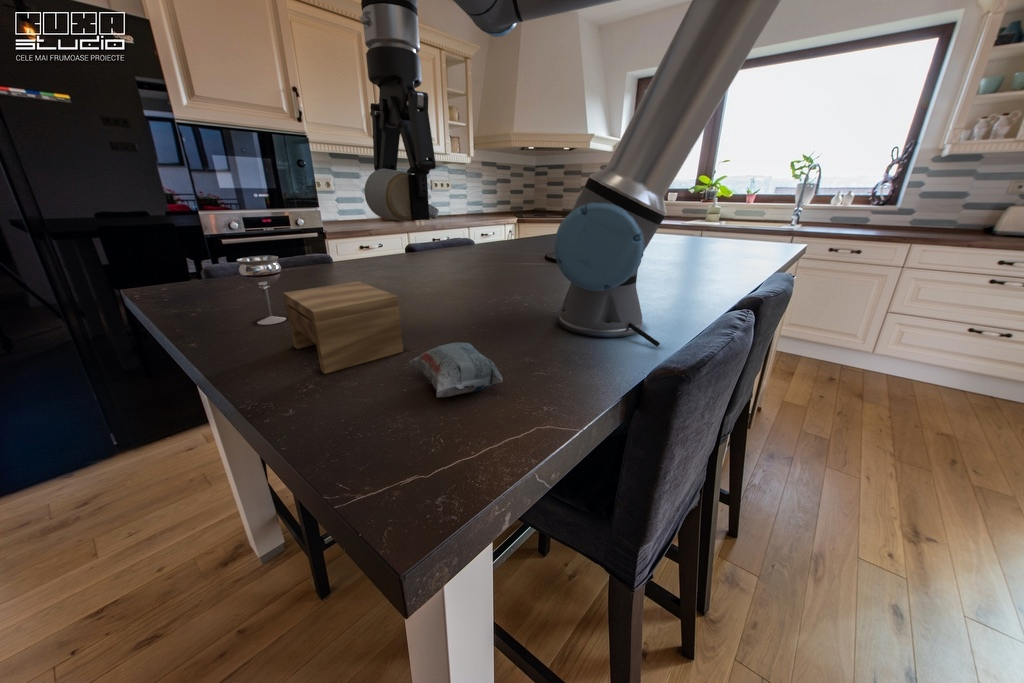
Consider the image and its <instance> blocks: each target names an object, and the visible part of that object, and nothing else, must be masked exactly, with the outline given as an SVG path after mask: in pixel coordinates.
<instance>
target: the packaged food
mask: <svg viewBox="0 0 1024 683" xmlns="http://www.w3.org/2000/svg"><path fill="white" fill-rule="evenodd" d="M408 364H409V365H411V366H412V367H413V368H415V369H417V370H418V372H419V373H420V374H422V375H423V376H424V377H425V378H427V379H428V381H429V382H430V383H431V384H432V386H433V388H434V390H435V392H436V398H450V397H454V396H459V395H464V394H470V393H473V392H478V391H482V390H483V391H484V390H488V389H491V388H494V387H495V386H496V385H498V384H501V383H503V382H504V378H503V377H502V375H501V373H500V371H499V369H498V367H497V365H496V364H495V363H494V362H493V361H492V360H491V359H489V358H487V357H486V356H484V355H483V354H482V353H481V352H479V350H477V349H476V348H475V347H474V346H473V344H472V343H470V342H457V341H455V342H451V343H447V344H442V345H438V346H436V347H434V348H431V349H428V350H427V351H424V352H423V353H422V354H421V353H420V355H419V356H416V357H414V358H413V359H411V360H409V361H408Z"/></svg>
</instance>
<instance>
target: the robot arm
mask: <svg viewBox="0 0 1024 683" xmlns="http://www.w3.org/2000/svg"><path fill="white" fill-rule="evenodd" d="M452 1H453V2H454V3H455V4H456V5H457V6H458V7H459V8H460V9H461V10H462V11H463V12H464V13H465V14H466V15H467V16H468V17H469V18H470V20H472V22H473V23H474V25H475V26H476V27H477V28H479V29H480V30H481V31H482V32H484V33H485V34H487V35H489V36H491V37H495V38H502V37H505V36H507V35H508V34H510V33H511V32H512V30H514V28H515V27H516V26H517V24H519V23H523V22H527V21H528V22H529V21H532V20H537V19H541V18H546V17H551V16H556V15H560V14H563V13H569V12H574V11H578V10H584V9H587V8H592V7H597V6H601V5H605V4H611V3H614V2H621V0H452ZM781 1H782V0H692V1H691V2H690V4H689V6H688V8H687V10H686V12H685V14H684V15H683V18H682V20H681V22H680V24H679V26H678V27H677V30H676V31H675V33H674V35H673V36H672V39H671V41H670V43H669V45H668V47H667V49H666V51H665V53H664V55H663V57H662V58H661V61H660V63H659V64H658V66H657V68H656V70H655V72H654V74H653V76H652V78H651V80H650V82H649V84H648V86H647V88H646V89H645V92H644V94H643V96H642V98H641V100H640V101H639V103H638V105H637V107H636V109H635V111H634V113H633V115H632V117H631V118H630V121H629V122H628V125H627V127H626V129H625V131H624V132H623V134H622V136H621V138H620V140H619V142H618V144H617V146H616V147H615V150H614V152H613V154H612V155H611V157H610V160H609V161H608V163H607V166H606V167H604V168H603V169H601V170H597V171H596V172H593V173H591V174H590V175H589V177H588V178H587V179H586V182H585V184H584V186H583V187H582V189H581V192H580V194H579V195H578V196H577V197H576V200H575V204H574V206H573V208H572V210H571V211H570V212H569V213H567V215H566V216H565V218H563V219H562V221H561V222H560V224H559V226H558V228H557V231H556V234H555V238H554V246H553V249H554V250H553V252H554V258H555V260H556V262H555V263H556V264H557V266H558V269H559V271H560V272H561V273H562V274H563V276H564V277H565V279H567V280H568V281H569V282H570V285H569V287H568V290H567V293H566V295H565V298H564V300H563V303H562V306H561V308H560V311H559V317H558V318H559V320H558V323H559V325H560V326H561V327H562V328H563V329H565V330H567V331H569V332H571V333H574V334H578V335H582V336H587V337H595V338H621V337H627V336H632V335H635V334H637V335H639V336H640V337H642V338H644V339H645V340H647V341H648V342H649V343H651V344H652V345H653V346H654V347H656V348H658V347H659V346H660V345H661V342H659V341H658V340H657V339H655V338H654V337H653V336H651V335H649V334H648V333H647V332H645V331H644V330H642V328H643V313H642V308H641V304H640V298H639V294H638V290H637V281H638V280H637V278H638V271H639V268H640V265H641V263H642V259H643V257H644V252H645V250H646V249H647V247H648V245H649V244H650V242H651V240H652V239H653V237H654V235H655V234H656V232H657V231H658V229H659V227H660V226H661V224H662V222H663V221H664V219H665V217H666V216H667V213H668V212H667V207H666V203H665V202H666V201H665V196H666V194H667V192H668V191H669V189H670V188H671V186H672V184H673V182H674V180H675V179H676V177H677V175H678V174H679V172H680V170H681V169H682V167H683V165H684V164H685V162H686V161H687V158H688V157H689V155H690V153H691V152H692V151H693V149H694V147H695V145H696V144H697V142H698V140H699V139H700V137H701V136H702V134H703V132H704V130H705V129H706V127H707V125H708V124H709V122H710V120H711V119H712V117H713V115H714V113H716V110H717V109H718V107H719V106H720V103H721V102H722V100H723V98H724V97H725V95H726V94H727V92H728V90H729V88H730V87H731V85H732V83H733V82H734V80H735V78H736V77H737V75H738V73H739V72H740V70H741V69H742V67H743V65H744V63H745V62H746V60H747V58H748V57H749V55H750V53H751V52H752V50H753V49H754V47H755V45H756V43H757V42H758V40H759V38H760V36H761V35H762V34H763V32H764V30H765V28H766V26H767V25H768V23H769V22H770V20H771V19H772V16H773V15H774V13H775V11H776V10H777V8H778V6H779V5H780V3H781ZM360 6H361V15H360V17H359V20H360V21H359V22H360V24H362V25H363V27H362V28H363V33H364V34H363V35H364V42H365V43H364V45H365V47H366V48H367V49H368V50H367V51H366V53H365V58H366V69H367V78H368V81H369V82H370V83H371V84H372V85H375V86H377V87H378V89H379V96H378V103H373V102H371V103H370V108H369V109H370V114H371V119H372V148H373V169H374V171H376V170H379V169H391V170H396V171H398V170H397V168H398V167H397V166H398V157H399V150H400V149H399V148H400V137H401V140H402V143H403V147H404V151H405V154H406V158H407V162H408V164H409V168H407V170H406V172H407V173H408V180H409V193H410V206H411V219H412V220H411V221H430V218H429V204H430V203H429V185H428V175H429V174H430V171H431V170H435V169H436V167H437V162H436V157H435V149H434V142H433V137H432V136H433V135H432V130H431V122H430V114H429V94H428V93H427V92H425V91H424V92H423V91H419V90H416V88H419V87H421V85H422V83H423V80H422V79H423V78H422V64H421V62H422V61H421V57H420V56H419V53H420V51H421V44H420V30H419V28H420V27H419V14H418V0H360Z"/></svg>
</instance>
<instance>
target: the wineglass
mask: <svg viewBox="0 0 1024 683" xmlns="http://www.w3.org/2000/svg"><path fill="white" fill-rule="evenodd" d="M278 259H279V256H277V255H255V256H254V255H253V256H247V257H242V258H237V259H236V262H237V263H238V264H239V266H238V273H239V275H240V277H241V279H242V280H243V281H244V282H247V283H248V284H249V285H252V286H255V287H258V288H259V289H260V290H262V293H263V297H264V300H265V303H266V304H265V305H266V307H267V311H268V314H269V316H267V317H264V318H262V319H259V320H257V322H256V323H257V324H258V325H274V324H278V323H283V322H285V321H287V317H285V316H280V315H279V316H276V315H273V314H272V308H271V302H270V297H269V291H268V289H269V288H270V286H271V285H273V284H274V283H276V282H277V281H278V280H279V278H280V277H281V274H282V267H281V265H280V263H278Z"/></svg>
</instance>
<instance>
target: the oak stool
mask: <svg viewBox="0 0 1024 683" xmlns="http://www.w3.org/2000/svg"><path fill="white" fill-rule="evenodd" d="M282 296H283V300H284V304H285V309H286V314H287V318H288V322H289V323H288V324H289V328H290V333H291V337H292V342H293V347H294V348H295V349H296V350H299V349H303V348H307V347H308V348H309V347H312V346H316V351H317V356H318V362H319V367H320V371H321V372H322V373H323V374H325V375H326V374H329V373H333V372H336V371H340V370H344V369H348V368H351V367H354V366H358V365H361V364H365V363H369V362H372V361H376V360H379V359H382V358H386V357H390V356H393V355H396V354H401V353H403V352H404V345H403V336H402V325H401V315H400V306H399V297H398V295H396V294H393V293H390V292H388V291H386V290H382V289H380V288H377V287H375V286H372V285H370V284H367V283H364V282H361V281H352V282H345V283H339V284H331V285H326V286H319V287H311V288H306V289H299V290H291V291H284V292H282Z"/></svg>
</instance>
